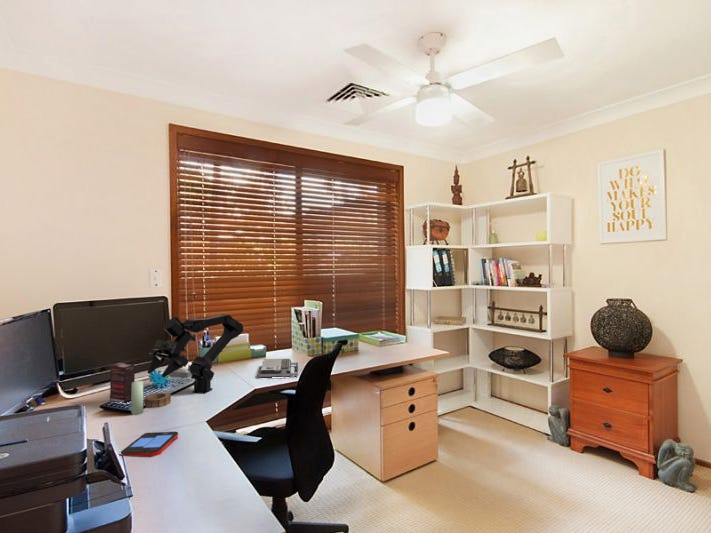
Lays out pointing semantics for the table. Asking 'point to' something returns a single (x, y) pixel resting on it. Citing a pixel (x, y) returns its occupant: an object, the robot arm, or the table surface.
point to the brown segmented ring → (157, 399)
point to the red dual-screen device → (150, 444)
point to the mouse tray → (181, 373)
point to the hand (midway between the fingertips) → (155, 375)
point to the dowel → (137, 398)
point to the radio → (277, 368)
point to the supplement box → (121, 382)
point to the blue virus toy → (158, 378)
